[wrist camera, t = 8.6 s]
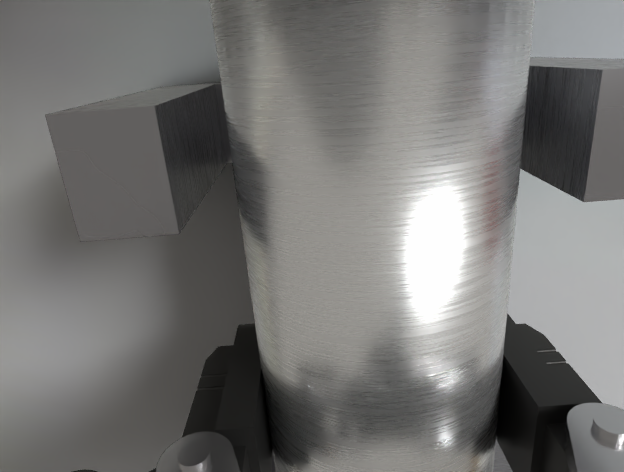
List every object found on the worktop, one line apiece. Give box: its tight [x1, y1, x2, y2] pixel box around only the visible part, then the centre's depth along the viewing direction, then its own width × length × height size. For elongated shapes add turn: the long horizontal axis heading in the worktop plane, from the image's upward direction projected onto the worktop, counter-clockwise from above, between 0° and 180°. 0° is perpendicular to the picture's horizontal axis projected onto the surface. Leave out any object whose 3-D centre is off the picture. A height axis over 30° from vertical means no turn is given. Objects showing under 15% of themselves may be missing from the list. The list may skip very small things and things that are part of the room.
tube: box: [210, 0, 535, 472], centre depth 10 cm, size 16×5×5 cm, turn 4°
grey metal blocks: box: [45, 57, 624, 242], centre depth 10 cm, size 2×10×6 cm, turn 95°
